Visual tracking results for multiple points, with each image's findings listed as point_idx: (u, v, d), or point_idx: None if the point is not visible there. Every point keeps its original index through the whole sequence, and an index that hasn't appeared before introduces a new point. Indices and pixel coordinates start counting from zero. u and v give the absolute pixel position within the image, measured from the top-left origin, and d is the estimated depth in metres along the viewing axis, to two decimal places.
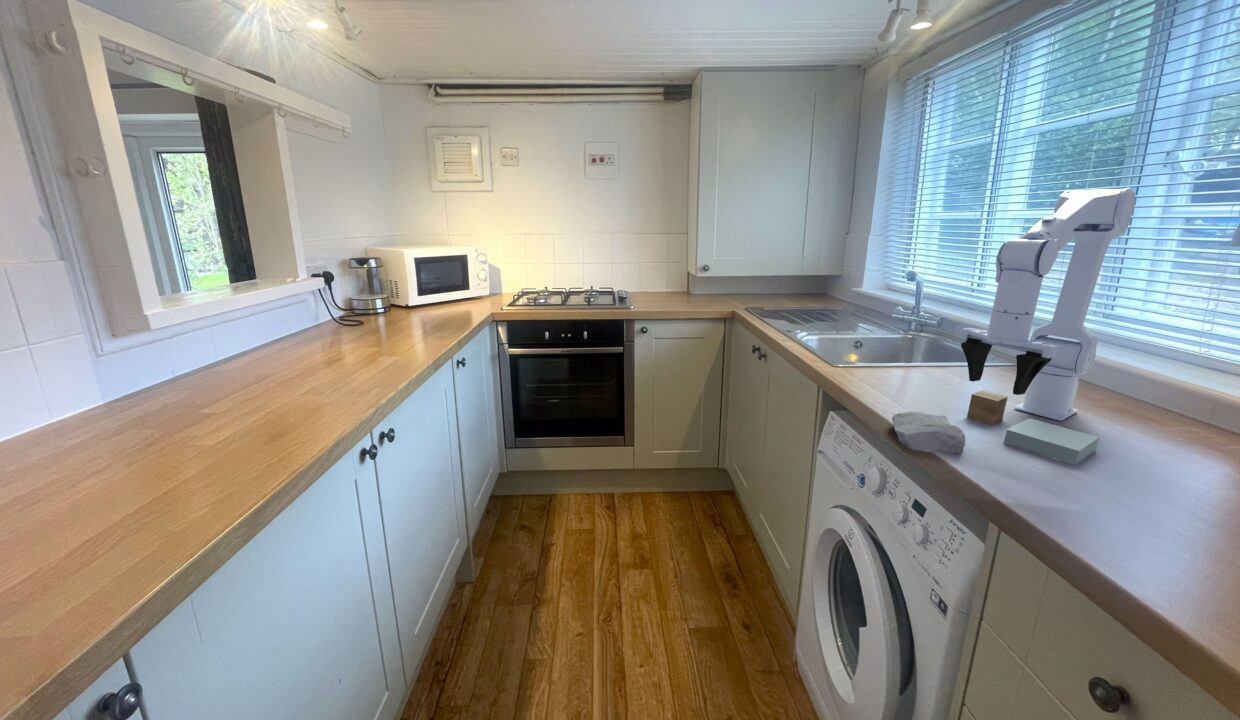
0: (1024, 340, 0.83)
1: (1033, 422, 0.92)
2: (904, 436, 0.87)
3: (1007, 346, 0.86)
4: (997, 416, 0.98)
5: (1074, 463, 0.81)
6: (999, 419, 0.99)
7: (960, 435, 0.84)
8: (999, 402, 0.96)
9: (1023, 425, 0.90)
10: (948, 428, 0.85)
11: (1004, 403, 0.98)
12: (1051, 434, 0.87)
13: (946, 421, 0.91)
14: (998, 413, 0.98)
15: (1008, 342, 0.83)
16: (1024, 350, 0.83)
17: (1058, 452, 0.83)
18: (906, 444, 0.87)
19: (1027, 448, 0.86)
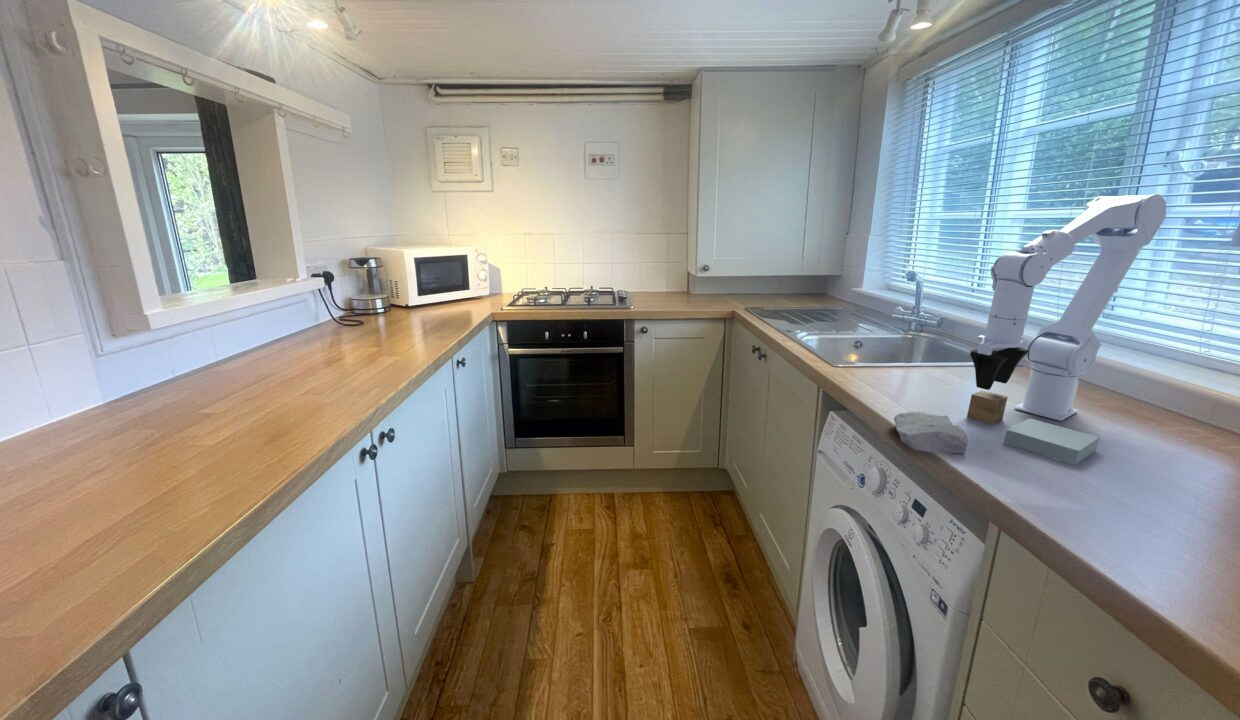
0: (993, 341, 0.94)
1: (1033, 422, 0.92)
2: (906, 436, 0.87)
3: None
4: (997, 416, 0.98)
5: (1074, 463, 0.81)
6: (999, 419, 0.99)
7: (962, 435, 0.84)
8: (999, 402, 0.96)
9: (1023, 425, 0.90)
10: (951, 429, 0.85)
11: (1004, 403, 0.98)
12: (1051, 434, 0.87)
13: (948, 421, 0.91)
14: (998, 413, 0.98)
15: (982, 340, 0.97)
16: None
17: (1058, 452, 0.83)
18: (908, 444, 0.87)
19: (1027, 448, 0.86)
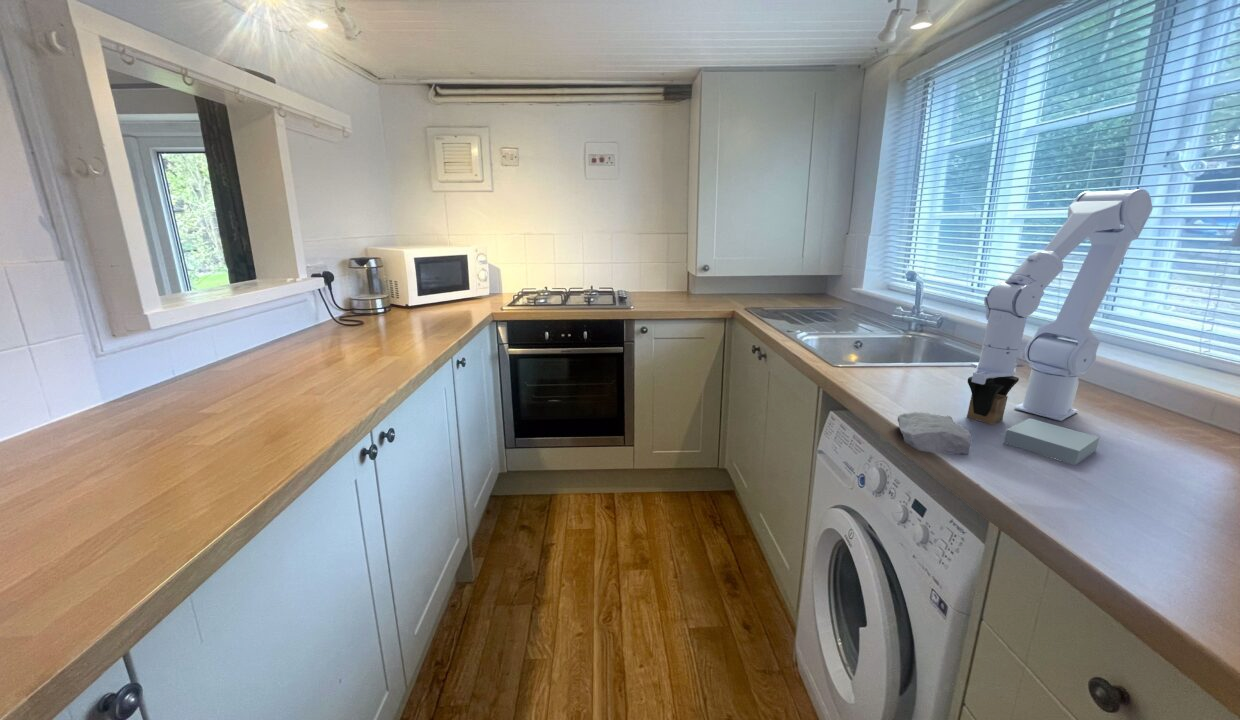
0: (987, 369, 0.96)
1: (1033, 422, 0.92)
2: (910, 437, 0.87)
3: None
4: (997, 416, 0.98)
5: (1074, 463, 0.81)
6: (999, 418, 0.99)
7: (966, 436, 0.84)
8: (999, 402, 0.96)
9: (1023, 425, 0.90)
10: (954, 429, 0.85)
11: (1004, 402, 0.98)
12: (1051, 434, 0.87)
13: (952, 422, 0.91)
14: (998, 413, 0.98)
15: (976, 368, 0.98)
16: None
17: (1058, 452, 0.83)
18: (912, 445, 0.87)
19: (1027, 448, 0.86)
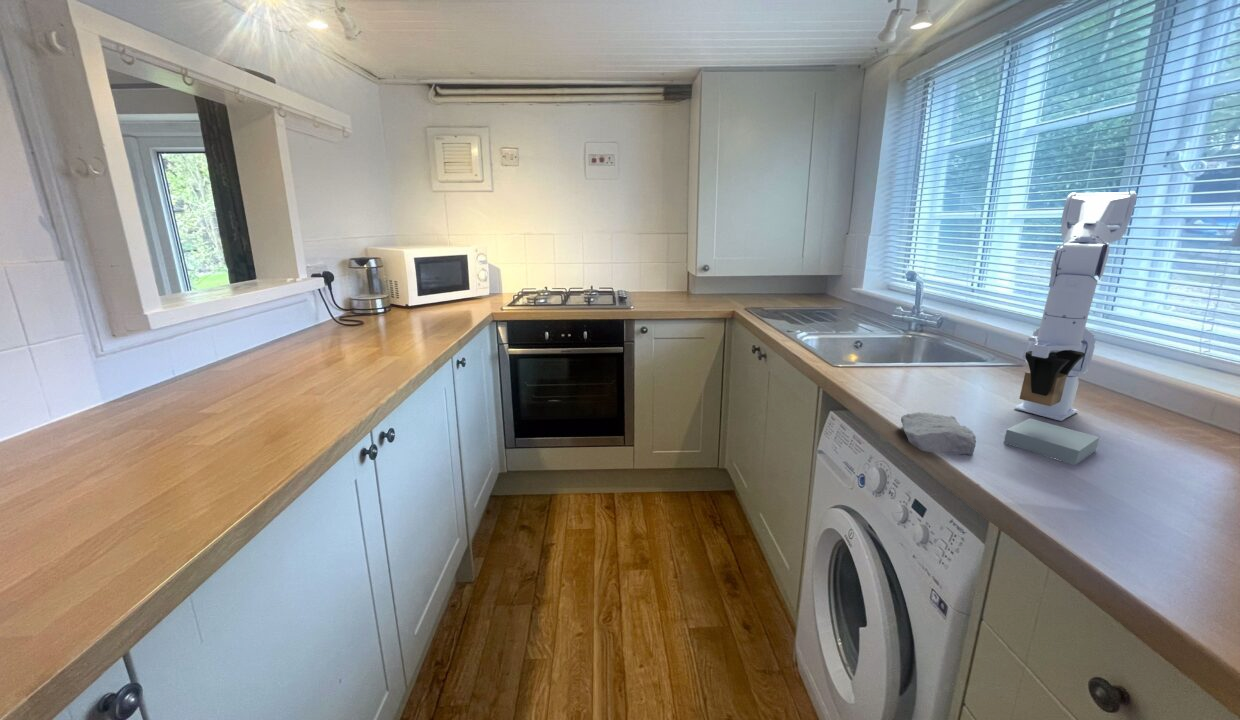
0: (1049, 342, 0.84)
1: (1033, 422, 0.92)
2: (914, 437, 0.87)
3: None
4: (1055, 397, 0.86)
5: (1074, 463, 0.81)
6: (1057, 400, 0.87)
7: (970, 436, 0.84)
8: (1058, 380, 0.85)
9: (1023, 425, 0.90)
10: (959, 429, 0.85)
11: (1063, 382, 0.87)
12: (1051, 434, 0.87)
13: (955, 422, 0.91)
14: (1057, 393, 0.86)
15: (1035, 341, 0.87)
16: None
17: (1058, 452, 0.83)
18: (916, 445, 0.87)
19: (1027, 448, 0.86)
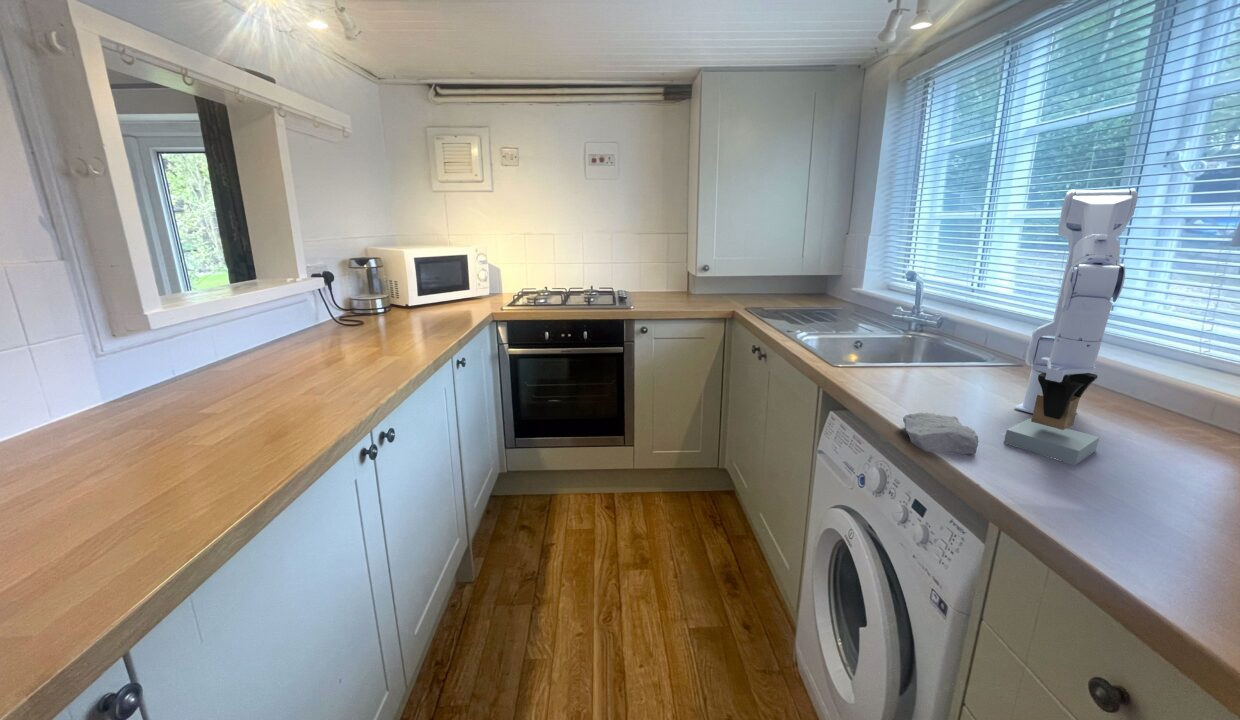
0: (1062, 365, 0.82)
1: (1033, 422, 0.92)
2: (917, 437, 0.87)
3: None
4: (1068, 420, 0.85)
5: (1074, 463, 0.81)
6: (1070, 423, 0.85)
7: (973, 436, 0.84)
8: (1071, 403, 0.83)
9: (1023, 425, 0.90)
10: (961, 430, 0.85)
11: (1076, 404, 0.85)
12: (1051, 434, 0.87)
13: (957, 422, 0.91)
14: (1070, 416, 0.84)
15: (1047, 363, 0.85)
16: None
17: (1058, 452, 0.83)
18: (919, 445, 0.87)
19: (1027, 448, 0.86)
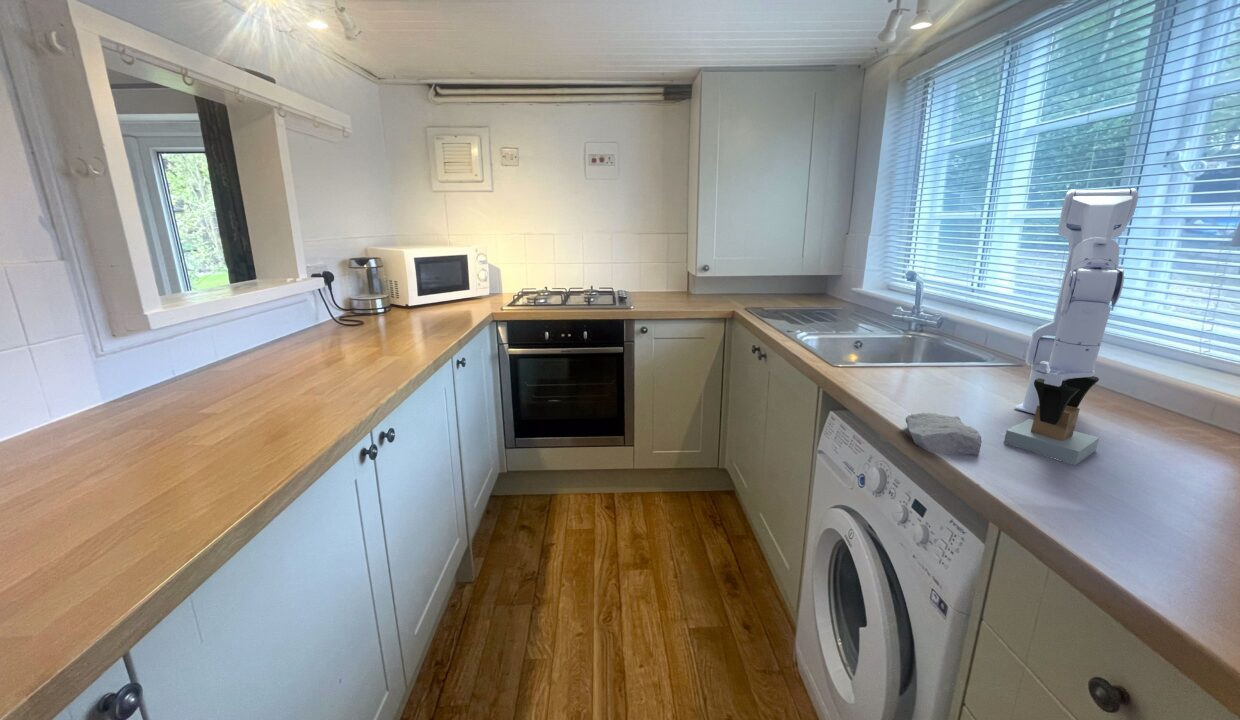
0: (1061, 369, 0.83)
1: None
2: (920, 438, 0.87)
3: None
4: (1068, 431, 0.85)
5: (1074, 464, 0.81)
6: (1070, 434, 0.86)
7: (976, 436, 0.84)
8: (1071, 415, 0.84)
9: (1023, 426, 0.90)
10: (964, 430, 0.84)
11: (1076, 416, 0.85)
12: None
13: (960, 422, 0.91)
14: (1069, 427, 0.85)
15: (1046, 367, 0.85)
16: None
17: (1058, 453, 0.83)
18: (922, 446, 0.86)
19: (1027, 449, 0.86)
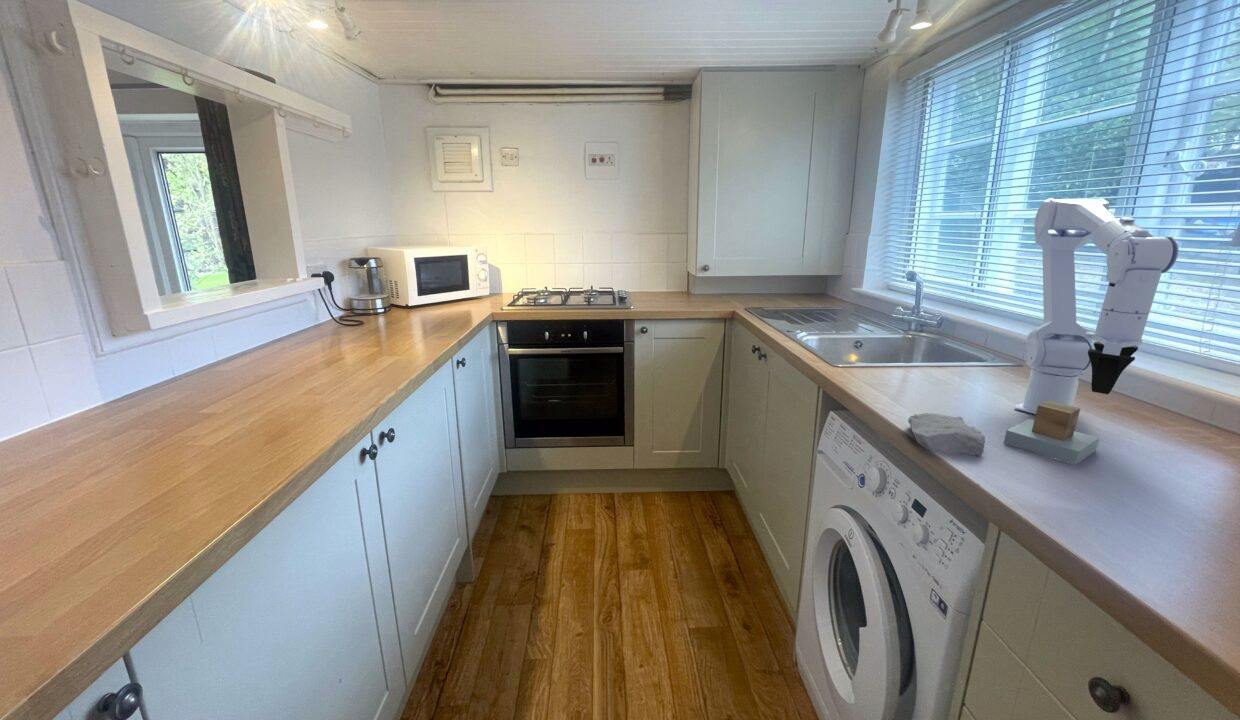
0: (1113, 338, 0.83)
1: (1033, 423, 0.92)
2: (923, 438, 0.87)
3: None
4: (1069, 431, 0.85)
5: (1074, 464, 0.81)
6: (1070, 434, 0.86)
7: (979, 437, 0.83)
8: (1072, 415, 0.84)
9: (1023, 426, 0.90)
10: (968, 430, 0.84)
11: (1076, 415, 0.85)
12: None
13: (963, 422, 0.90)
14: (1070, 427, 0.85)
15: (1095, 337, 0.85)
16: None
17: (1058, 453, 0.83)
18: (925, 446, 0.86)
19: (1027, 449, 0.86)
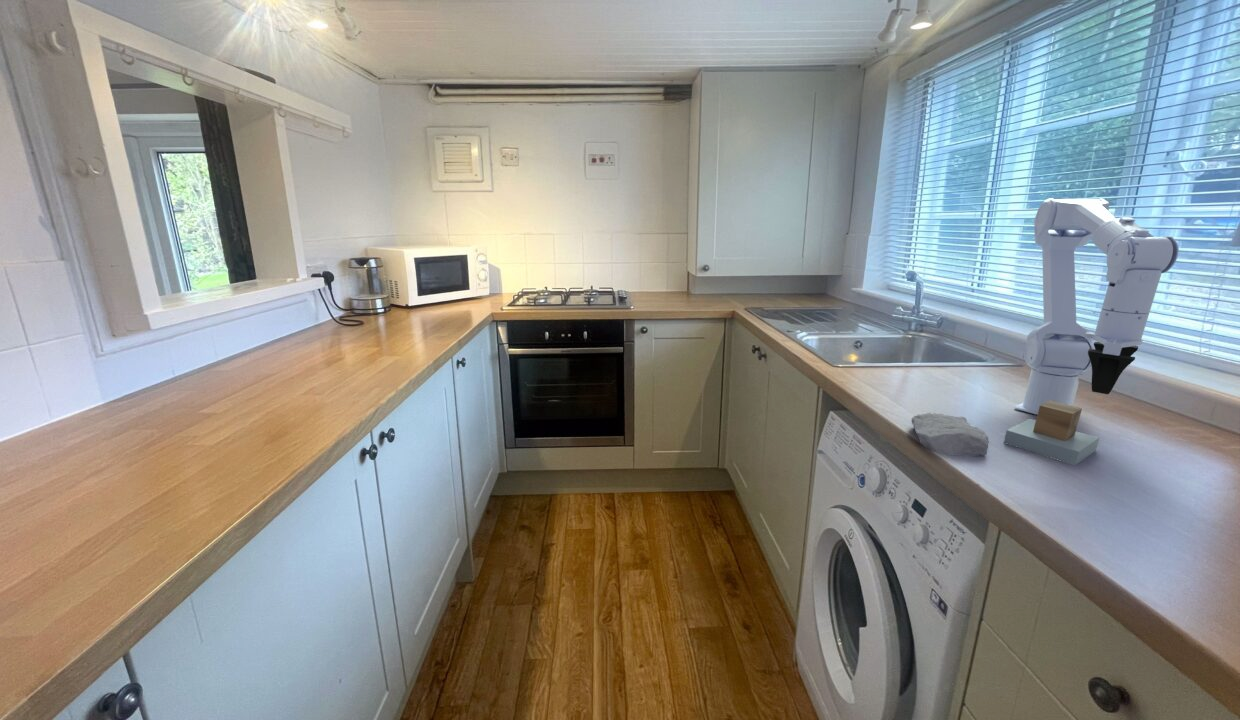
0: (1113, 338, 0.83)
1: (1033, 423, 0.92)
2: (927, 438, 0.86)
3: None
4: (1070, 431, 0.85)
5: (1074, 464, 0.81)
6: (1072, 434, 0.86)
7: (983, 437, 0.83)
8: (1074, 415, 0.84)
9: (1023, 425, 0.90)
10: (971, 430, 0.84)
11: (1078, 415, 0.85)
12: None
13: (966, 422, 0.90)
14: (1072, 427, 0.85)
15: (1095, 337, 0.85)
16: None
17: (1058, 453, 0.83)
18: (929, 446, 0.86)
19: (1027, 449, 0.86)
